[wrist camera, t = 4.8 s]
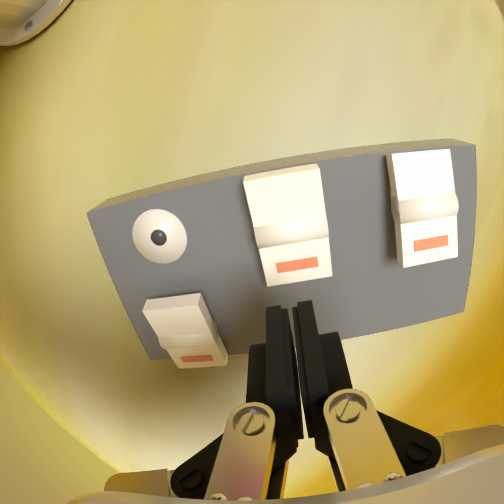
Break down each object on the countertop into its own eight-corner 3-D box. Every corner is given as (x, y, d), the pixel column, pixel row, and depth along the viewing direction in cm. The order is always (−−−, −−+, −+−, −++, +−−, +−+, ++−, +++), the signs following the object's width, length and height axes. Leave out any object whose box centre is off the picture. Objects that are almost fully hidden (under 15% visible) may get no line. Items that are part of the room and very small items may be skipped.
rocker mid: (244, 174, 16) (242, 183, 14) (315, 161, 15) (320, 169, 14) (267, 273, 18) (267, 289, 17) (328, 263, 18) (333, 279, 16)
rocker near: (383, 154, 15) (393, 153, 14) (439, 149, 15) (452, 148, 13) (395, 260, 17) (405, 269, 15) (447, 250, 16) (460, 258, 15)
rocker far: (147, 296, 19) (140, 314, 17) (201, 289, 18) (197, 308, 17) (181, 354, 22) (178, 371, 21) (228, 350, 22) (226, 369, 20)
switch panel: (107, 199, 20) (84, 214, 17) (451, 138, 17) (477, 145, 14) (161, 335, 25) (149, 361, 22) (447, 290, 22) (465, 313, 19)
